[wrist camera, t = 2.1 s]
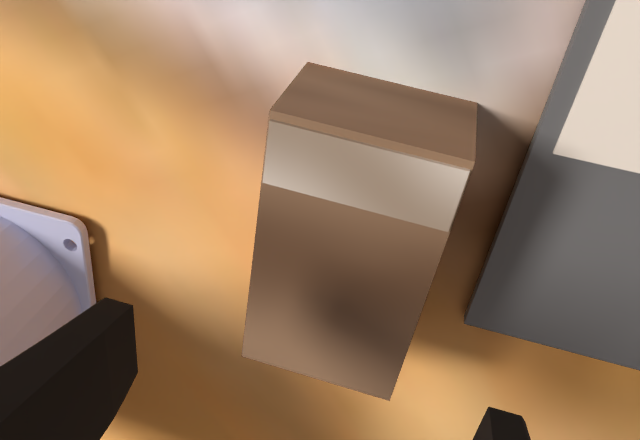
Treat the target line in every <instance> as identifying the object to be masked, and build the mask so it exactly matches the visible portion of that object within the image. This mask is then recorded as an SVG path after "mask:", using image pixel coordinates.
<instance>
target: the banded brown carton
mask: <svg viewBox="0 0 640 440" xmlns="http://www.w3.org/2000/svg"><path fill="white" fill-rule="evenodd" d="M476 129H477V103H475V102H471V101H467V100H463V99H459V98H455V97H450V96H446V95H442V94H438V93H434V92H430V91H426V90H422V89H417V88H413V87H409V86H405V85H401V84H397V83H393V82H388V81H384V80H380V79H376V78H372V77H368V76H364V75H360V74H355V73H351V72H347V71H343V70H339V69H335V68H331V67H326V66H322V65H318V64H314V63H310V62H307V64H306V65H305V66H304V67H303V69H302V70H301V71H300V72H299V74H298V75H297V76H296V77H295V79H294V80H293V81H292V82H291V84H290V85H289V86H288V87H287V89H286V90H285V91H284V92H283V94H282V95H281V96H280V98H279V99H278V100H277V101H276V103H275V104H274V105H273V106H272V108H271V109H270V111H269V120H268V129H267V138H266V146H265V155H264V164H263V173H262V182H261V190H260V199H259V208H258V217H257V226H256V234H255V243H254V252H253V261H252V270H251V278H250V287H249V296H248V305H247V314H246V322H245V331H244V340H243V349H242V357H245V358H249V359H252V360H255V361H259V362H262V363H265V364H269V365H272V366H275V367H279V368H282V369H285V370H289V371H292V372H295V373H299V374H302V375H305V376H309V377H312V378H315V379H319V380H322V381H325V382H328V383H332V384H335V385H338V386H342V387H345V388H348V389H352V390H355V391H358V392H362V393H365V394H368V395H372V396H375V397H378V398H382V399H385V400H388V401H390V398H391V395H392V392H393V390H394V387H395V384H396V381H397V379H398V376H399V373H400V370H401V367H402V365H403V362H404V359H405V356H406V353H407V351H408V348H409V345H410V342H411V340H412V337H413V334H414V331H415V328H416V326H417V323H418V320H419V317H420V314H421V312H422V309H423V306H424V303H425V301H426V298H427V295H428V292H429V289H430V287H431V284H432V281H433V278H434V275H435V273H436V270H437V267H438V264H439V262H440V259H441V256H442V253H443V250H444V248H445V245H446V242H447V239H448V236H449V234H450V231H451V228H452V225H453V223H454V220H455V217H456V214H457V211H458V209H459V206H460V203H461V200H462V197H463V195H464V192H465V189H466V186H467V184H468V181H469V178H470V175H471V172H472V170H473V167H474V164H475V156H476Z"/></svg>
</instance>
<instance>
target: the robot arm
mask: <svg viewBox="0 0 640 440" xmlns="http://www.w3.org/2000/svg"><path fill="white" fill-rule="evenodd" d="M72 241H74V242H75V243H76V244H75V243H73V242H72ZM137 373H138V368H137V354H136V341H135V327H134V314H133V305H130V304H126V303H123V302H119V301H116V300H112V299H109V298H104V299H102V300H100V301H99V302H97V303H96V297H95V289H94V280H93V272H92V264H91V256H90V248H89V239H88V232H87V228H86V226H85V225H84V223H83V222H82V221H80V220H79V219H77V218H75V217H73V216H69V215H65V214H61V213H58V212H54V211H50V210H46V209H43V208H39V207H35V206H31V205H27V204H24V203H20V202H16V201H12V200H9V199H5V198H1V197H0V440H100V438H101V437H102V435H103V434H104V432H105V431H106V429H107V428H108V426H109V425H110V423H111V422H112V420H113V419H114V417H115V415H116V414H117V412H118V410H119V408H120V406H121V404H122V402H123V400H124V399H125V397H126V395H127V393H128V391H129V389H130V387H131V385H132V383H133V381H134V379H135V377H136V375H137ZM473 440H531V439H530V436H529V433H528V430H527V426H526V423H525V421H524V419H523V418H522V416H520V415H516V414H513V413H509V412H506V411H502V410H499V409H495V408H492V407H488V409H487V411H486V413H485V415H484V417H483V419H482V421H481V423H480V425H479V427H478V430H477V432H476V434H475V436H474V438H473Z"/></svg>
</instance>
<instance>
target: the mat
mask: <svg viewBox="0 0 640 440" xmlns="http://www.w3.org/2000/svg"><path fill="white" fill-rule="evenodd" d="M464 324H467V325H471V326H475V327H479V328H482V329H486V330H490V331H494V332H497V333H501V334H505V335H509V336H512V337H516V338H520V339H524V340H527V341H531V342H535V343H539V344H542V345H546V346H550V347H554V348H557V349H561V350H565V351H569V352H572V353H576V354H580V355H584V356H588V357H591V358H595V359H599V360H603V361H606V362H610V363H614V364H618V365H621V366H625V367H629V368H633V369H636V370H640V0H586V1H585V4H584V7H583V9H582V12H581V14H580V17H579V19H578V22H577V25H576V27H575V30H574V32H573V35H572V38H571V40H570V43H569V45H568V48H567V51H566V53H565V56H564V58H563V61H562V63H561V66H560V69H559V71H558V74H557V76H556V79H555V82H554V84H553V87H552V89H551V92H550V95H549V97H548V100H547V102H546V105H545V108H544V110H543V113H542V115H541V118H540V120H539V123H538V126H537V128H536V131H535V133H534V136H533V139H532V141H531V144H530V146H529V149H528V152H527V154H526V157H525V159H524V162H523V165H522V167H521V170H520V172H519V175H518V177H517V180H516V183H515V185H514V188H513V190H512V193H511V196H510V198H509V201H508V203H507V206H506V209H505V211H504V214H503V216H502V219H501V221H500V224H499V227H498V229H497V232H496V234H495V237H494V240H493V242H492V245H491V247H490V250H489V253H488V255H487V258H486V260H485V263H484V266H483V268H482V271H481V273H480V276H479V278H478V281H477V284H476V286H475V289H474V291H473V294H472V297H471V299H470V302H469V304H468V307H467V310H466V312H465V315H464Z"/></svg>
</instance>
